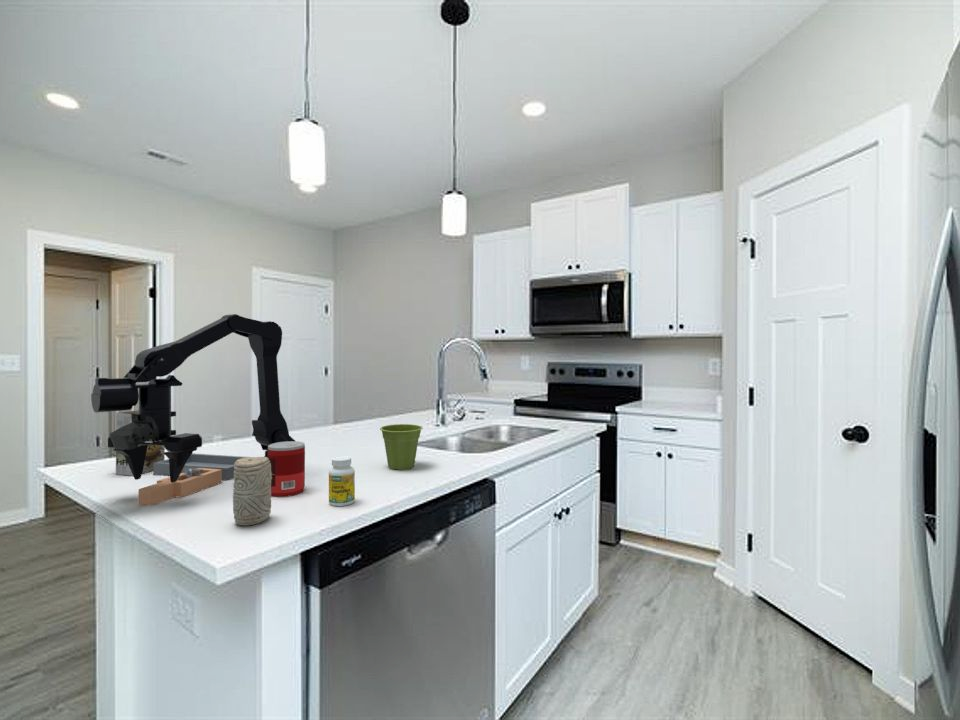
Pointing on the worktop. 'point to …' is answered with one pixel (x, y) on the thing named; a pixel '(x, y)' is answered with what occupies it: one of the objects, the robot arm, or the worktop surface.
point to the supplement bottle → (341, 482)
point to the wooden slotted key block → (179, 486)
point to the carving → (252, 490)
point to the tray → (202, 464)
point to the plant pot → (401, 444)
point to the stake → (192, 472)
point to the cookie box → (152, 454)
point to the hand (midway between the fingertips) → (155, 480)
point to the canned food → (287, 468)
